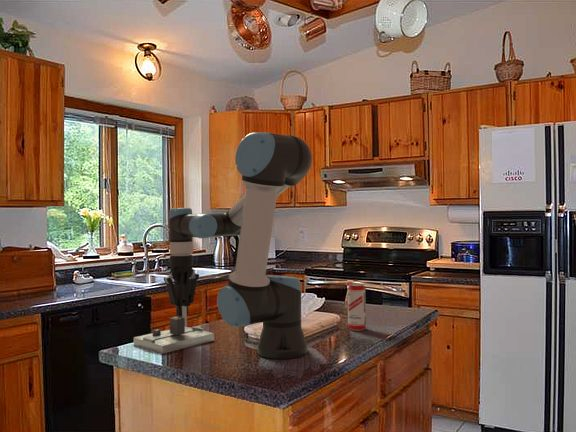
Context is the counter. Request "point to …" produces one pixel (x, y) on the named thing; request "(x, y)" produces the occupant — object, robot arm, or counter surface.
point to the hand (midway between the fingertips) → (182, 325)
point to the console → (173, 339)
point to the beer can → (356, 307)
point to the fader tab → (177, 325)
